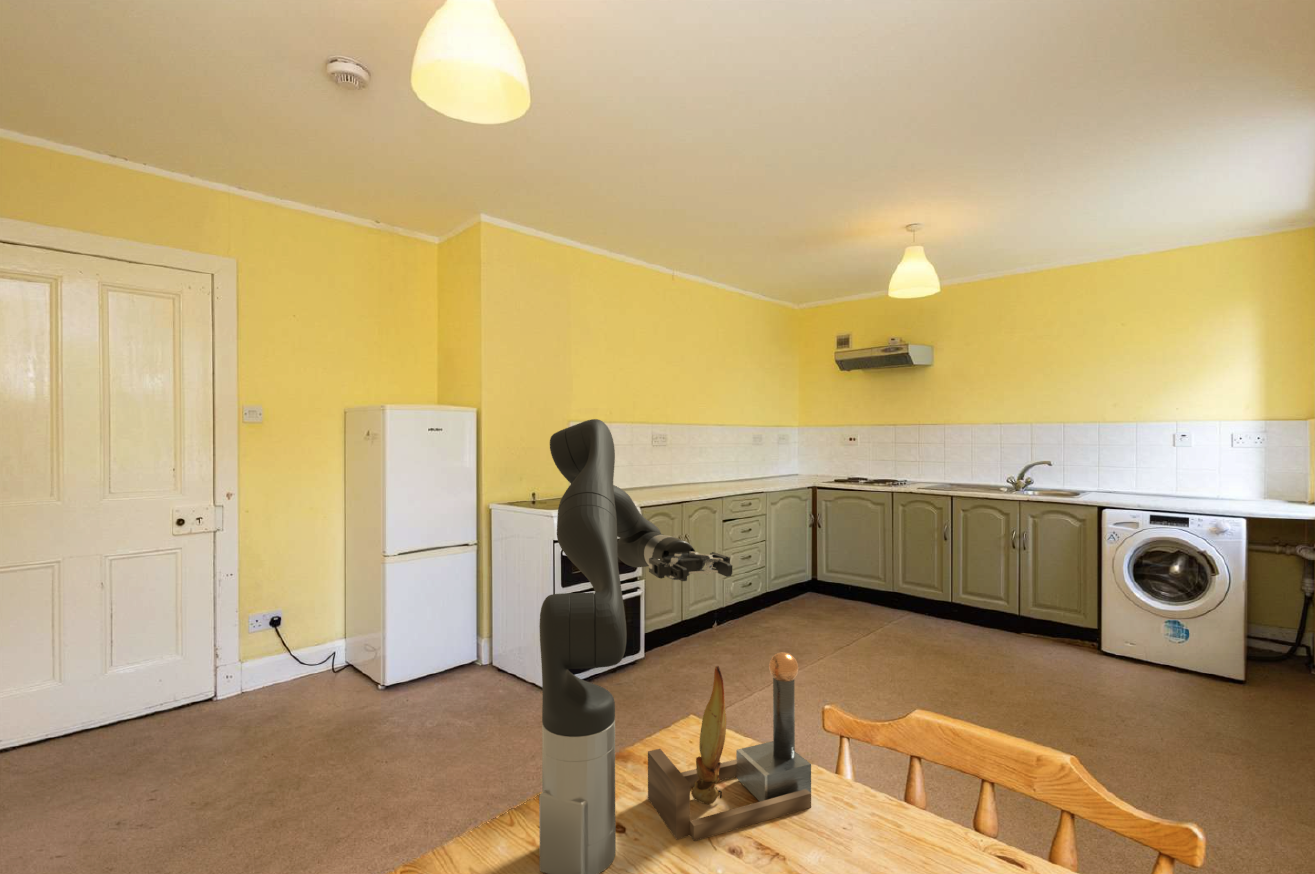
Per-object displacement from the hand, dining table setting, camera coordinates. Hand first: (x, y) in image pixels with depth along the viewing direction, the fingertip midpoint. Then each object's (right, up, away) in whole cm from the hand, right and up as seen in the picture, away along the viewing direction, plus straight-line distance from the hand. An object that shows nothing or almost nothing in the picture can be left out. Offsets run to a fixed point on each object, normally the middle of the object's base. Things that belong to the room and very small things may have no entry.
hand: (708, 573), depth 105 cm
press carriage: (+9, -30, -12) cm, 33 cm away
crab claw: (-1, -30, -16) cm, 34 cm away
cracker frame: (+2, -30, -15) cm, 34 cm away
